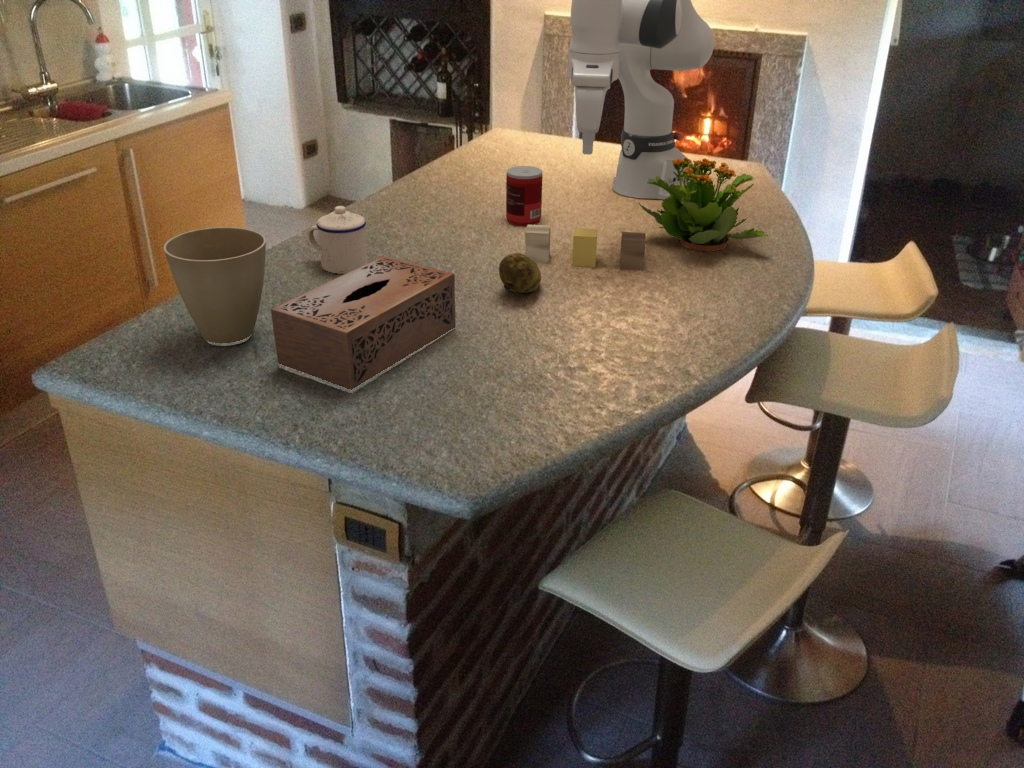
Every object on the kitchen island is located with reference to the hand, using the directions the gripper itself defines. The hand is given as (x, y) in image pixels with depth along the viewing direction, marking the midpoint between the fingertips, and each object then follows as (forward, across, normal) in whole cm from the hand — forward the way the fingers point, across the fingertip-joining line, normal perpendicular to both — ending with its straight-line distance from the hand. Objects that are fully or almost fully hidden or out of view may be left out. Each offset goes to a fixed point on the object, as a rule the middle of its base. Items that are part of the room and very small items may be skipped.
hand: (588, 147), depth 164 cm
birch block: (+22, -1, -9) cm, 24 cm away
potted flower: (+22, -13, +24) cm, 35 cm away
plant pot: (+23, +41, -54) cm, 72 cm away
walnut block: (+22, 0, +10) cm, 24 cm away
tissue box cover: (+23, +42, -31) cm, 57 cm away
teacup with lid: (+23, +9, -46) cm, 52 cm away
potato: (+23, +16, -10) cm, 30 cm away
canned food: (+22, -23, -14) cm, 35 cm away
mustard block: (+22, 0, 0) cm, 22 cm away
